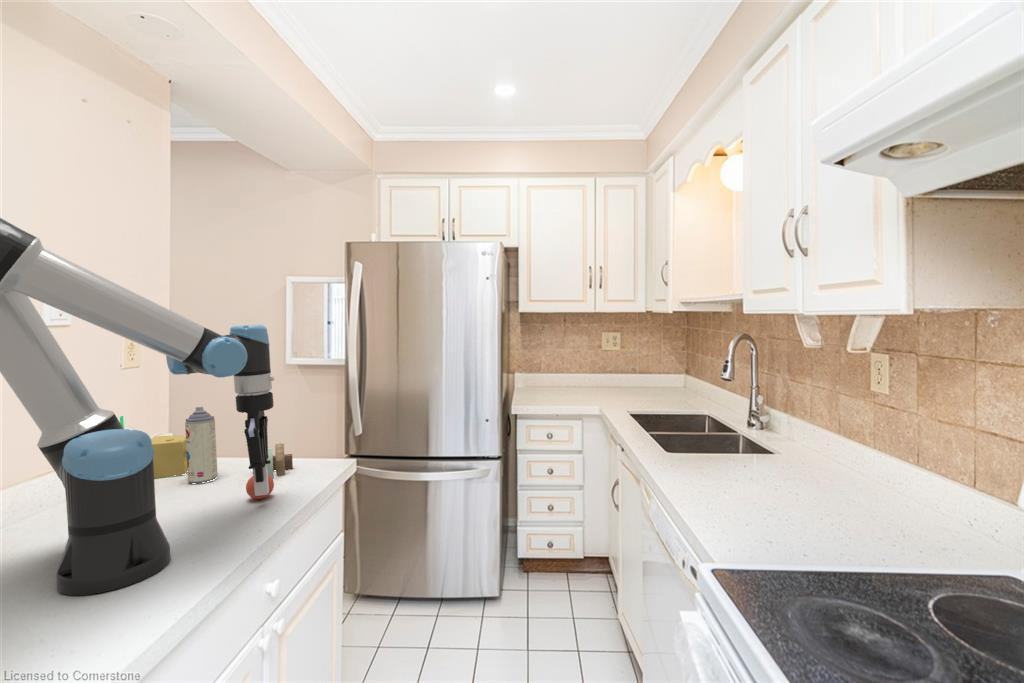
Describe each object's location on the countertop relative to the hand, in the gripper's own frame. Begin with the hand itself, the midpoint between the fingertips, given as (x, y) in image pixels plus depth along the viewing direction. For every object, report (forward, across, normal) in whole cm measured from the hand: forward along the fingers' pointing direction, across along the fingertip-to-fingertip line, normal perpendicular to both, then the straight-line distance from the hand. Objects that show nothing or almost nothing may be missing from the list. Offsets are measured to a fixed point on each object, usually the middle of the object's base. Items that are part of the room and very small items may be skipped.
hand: (262, 494), depth 114 cm
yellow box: (+3, +38, +31) cm, 49 cm away
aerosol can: (+3, +26, +19) cm, 33 cm away
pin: (+3, +24, 0) cm, 24 cm away
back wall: (+3, +29, +2) cm, 29 cm away
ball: (0, +5, +1) cm, 5 cm away
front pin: (+3, +20, +2) cm, 20 cm away
